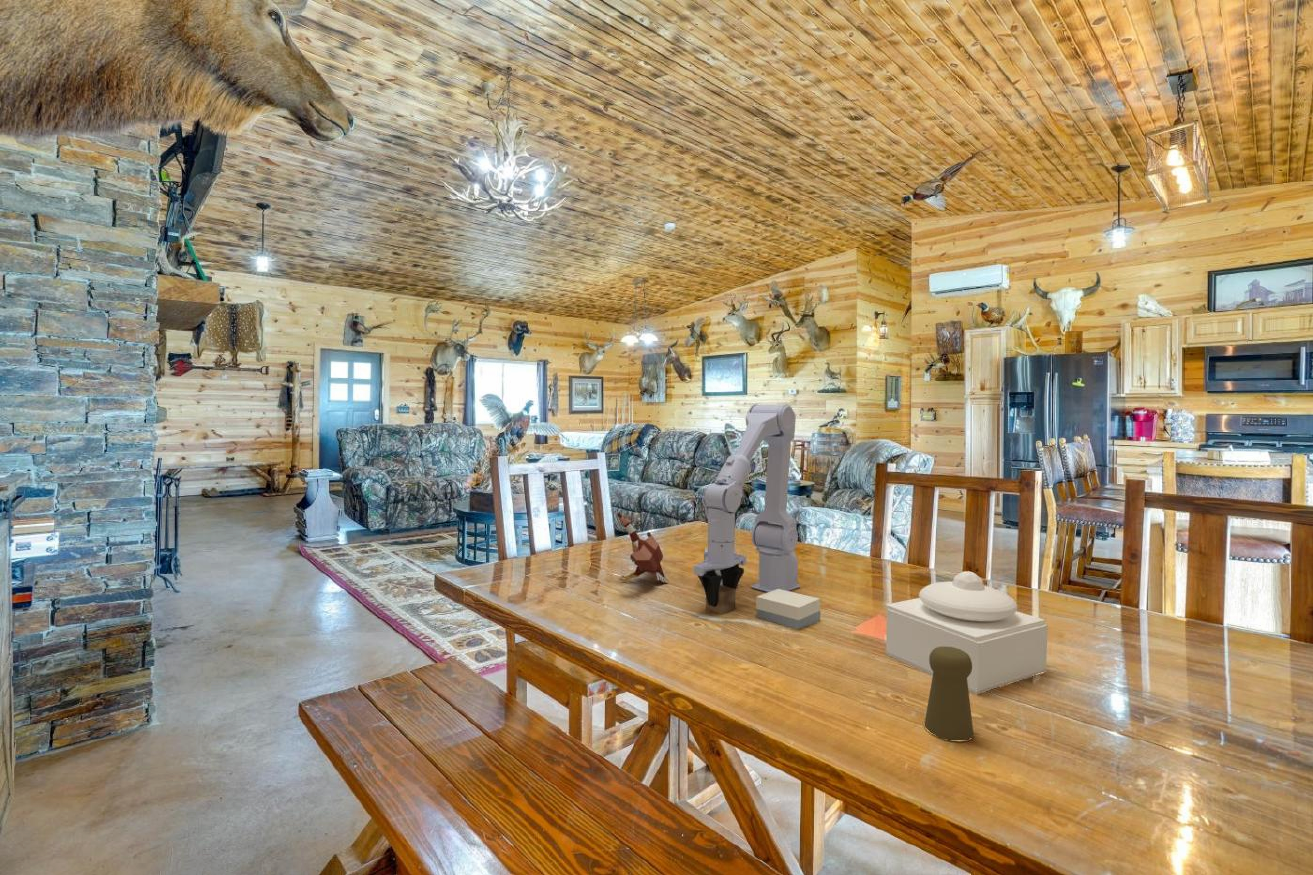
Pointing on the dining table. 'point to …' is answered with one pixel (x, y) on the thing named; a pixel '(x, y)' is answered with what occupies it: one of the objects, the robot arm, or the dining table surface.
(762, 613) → the tower base block
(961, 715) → the dark olive pawn
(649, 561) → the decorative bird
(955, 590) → the white saucer-topped box
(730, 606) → the walnut cube
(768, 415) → the robot arm
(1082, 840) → the dining table surface
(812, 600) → the tower top block
